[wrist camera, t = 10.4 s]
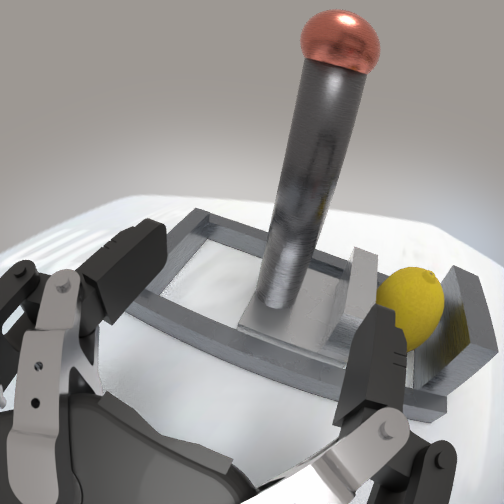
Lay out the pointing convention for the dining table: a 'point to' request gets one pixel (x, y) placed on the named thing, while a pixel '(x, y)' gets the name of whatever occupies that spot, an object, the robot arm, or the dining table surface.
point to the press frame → (307, 369)
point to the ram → (316, 202)
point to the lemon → (413, 303)
